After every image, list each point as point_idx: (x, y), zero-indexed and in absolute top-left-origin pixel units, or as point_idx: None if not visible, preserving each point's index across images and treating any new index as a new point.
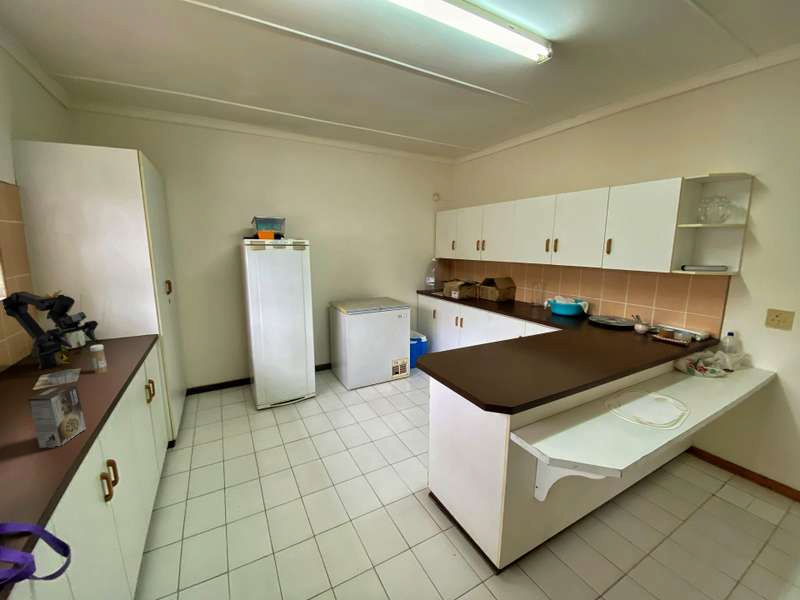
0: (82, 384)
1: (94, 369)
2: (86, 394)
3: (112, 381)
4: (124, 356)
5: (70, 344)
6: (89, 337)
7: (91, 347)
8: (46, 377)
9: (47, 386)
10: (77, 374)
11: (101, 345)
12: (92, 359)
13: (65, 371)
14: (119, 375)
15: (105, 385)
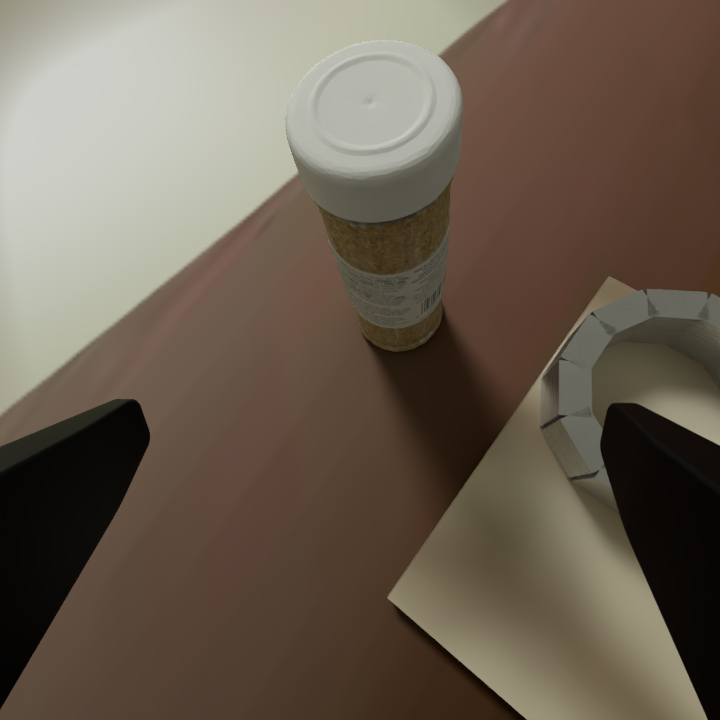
0: (600, 224)
1: (437, 306)
2: (686, 40)
3: (484, 96)
4: None
5: (657, 425)
6: (35, 615)
7: (456, 91)
8: (694, 693)
9: None
10: (563, 347)
11: (333, 58)
12: (447, 243)
13: None
14: None
15: (546, 73)
